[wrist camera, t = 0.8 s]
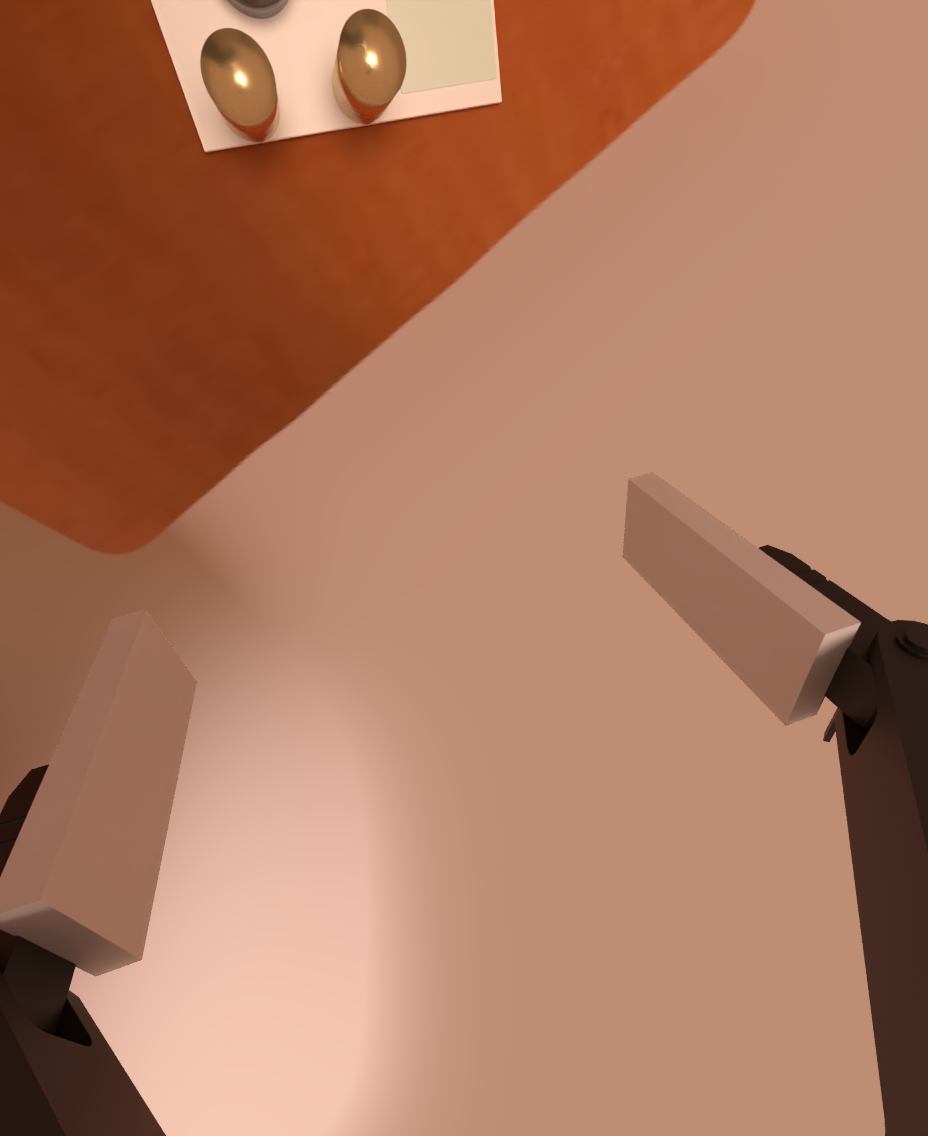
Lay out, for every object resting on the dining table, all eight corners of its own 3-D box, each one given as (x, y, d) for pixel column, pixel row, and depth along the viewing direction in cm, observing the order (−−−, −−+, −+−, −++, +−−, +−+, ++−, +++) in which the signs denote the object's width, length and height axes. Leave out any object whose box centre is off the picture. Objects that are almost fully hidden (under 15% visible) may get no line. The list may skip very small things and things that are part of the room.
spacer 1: (207, 70, 25) (187, 33, 21) (267, 61, 26) (260, 23, 21) (232, 146, 27) (219, 128, 22) (288, 137, 28) (286, 117, 23)
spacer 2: (324, 53, 26) (329, 13, 21) (380, 45, 27) (398, 4, 22) (341, 128, 28) (350, 107, 23) (393, 120, 28) (412, 97, 23)
